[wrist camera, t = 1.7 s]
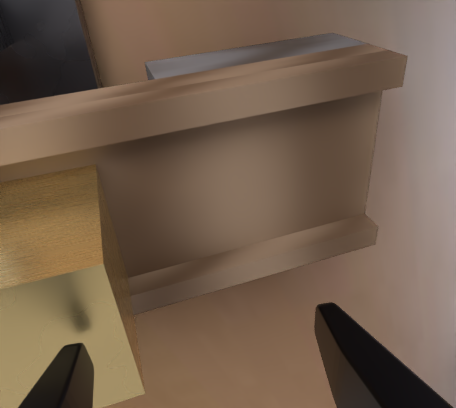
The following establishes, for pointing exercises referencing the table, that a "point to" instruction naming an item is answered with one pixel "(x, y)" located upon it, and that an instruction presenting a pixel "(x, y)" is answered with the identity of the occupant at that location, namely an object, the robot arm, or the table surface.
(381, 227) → the table surface
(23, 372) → the yellow wooden cube
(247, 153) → the beam
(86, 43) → the beam stand
